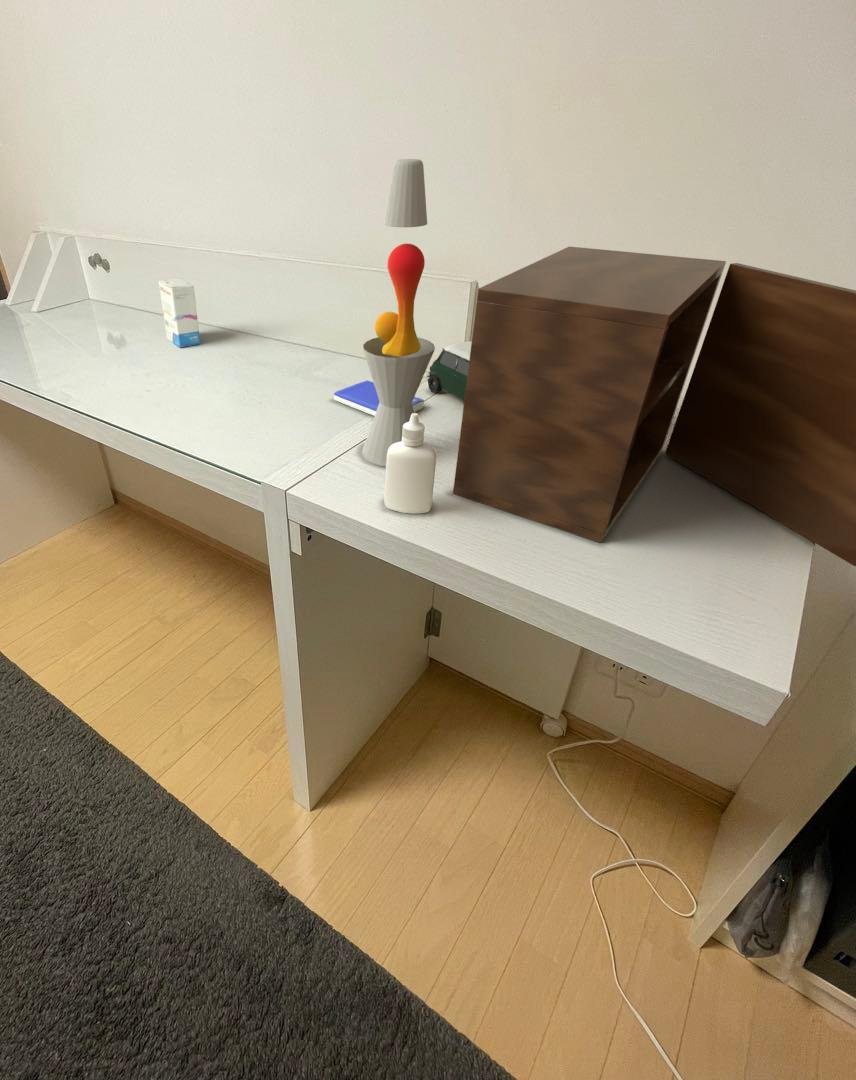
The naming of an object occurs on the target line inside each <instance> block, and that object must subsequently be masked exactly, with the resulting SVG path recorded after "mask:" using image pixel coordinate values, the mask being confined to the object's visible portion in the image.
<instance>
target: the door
mask: <svg viewBox="0 0 856 1080" xmlns="http://www.w3.org/2000/svg"><path fill="white" fill-rule="evenodd" d="M681 402H682V403H681V405H680V409H679V411H678V415H677V416H676V420H675V422H674V426H673V428H672V431H671V434H670V437H669V440H668V443H667V446H666V448H665V452H664V455H667V457H669V458H671V459H673V460H674V461H676V462H677V463H680V464H681V465H683V466H685V467H686V468H688V469H689V470H692V471H693V472H695V473H696V474H698V475H699V476H702V478H705V479H706V480H709V481H710V482H711V483H713V484H715V485H717V486H718V487H720V488H722V489H724V491H725V490H726V491H727V492H729V493H730V494H732V495H733V496H735V497H737V498H739V499H740V500H742V501H743V502H745V503H747V504H749V505H751V507H754V508H756V509H757V510H759V511H760V512H762V513H764V514H765V515H767V516H769V517H771V518H772V519H774V520H776V521H777V522H778V523H781V524H782V525H784V526H786V527H787V528H789V529H791V530H793V531H794V532H795V533H798V535H799V534H800V535H801V536H803V537H804V538H805V539H807V540H809V541H811V542H813V543H814V544H816V545H818V546H820V547H821V548H823V549H824V550H826V551H828V552H830V553H831V554H833V555H835V556H836V557H837V558H839V559H841V560H843V561H845V562H846V563H848V564H850V565H851V566H853V567H856V290H855V289H851V288H848V287H843V286H838V285H835V284H829V283H826V282H820V281H817V280H812V279H808V278H804V277H799V276H794V275H791V274H786V273H782V272H777V271H774V270H770V269H766V268H765V269H764V268H761V267H756V266H752V265H747V264H743V263H739V262H734V263H729V266H728V269H727V271H726V274H725V277H724V280H723V284H722V286H721V289H720V292H719V295H718V298H717V301H716V303H715V306H714V309H713V312H712V315H711V318H710V321H709V323H708V327H707V330H706V332H705V335H704V339H703V341H702V343H701V347H700V350H699V353H698V356H697V359H696V362H695V365H694V367H693V371H692V373H691V376H690V380H689V382H688V385H687V387H686V390H685V394H684V396H683V400H682V401H681Z"/></svg>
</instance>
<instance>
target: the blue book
mask: <svg viewBox="0 0 856 1080" xmlns="http://www.w3.org/2000/svg"><path fill="white" fill-rule="evenodd" d="M333 400H334V401H335V402H338V403H341V404H343V405H346V406H347V407H351V408H353V409H356V410H358V411H361V412H363V413H366V414H368V415H371V416H375V413H376V411H377V408H378V405H379V402H380V401H379V398H378V395H377V392H376V388H375V385H374V382H373V381H370V380H364V381H360V382H359V383H355V384H352V385H350V386H348V387H345V388H342V389H340V390H336V391H335V392H334V393H333ZM412 406H413V410H414V413H416V412H418V411H421V410H422V409H423V408H424V406H425V400H424V399H422V398H420V397H416V396H414V399H413V401H412Z"/></svg>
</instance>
